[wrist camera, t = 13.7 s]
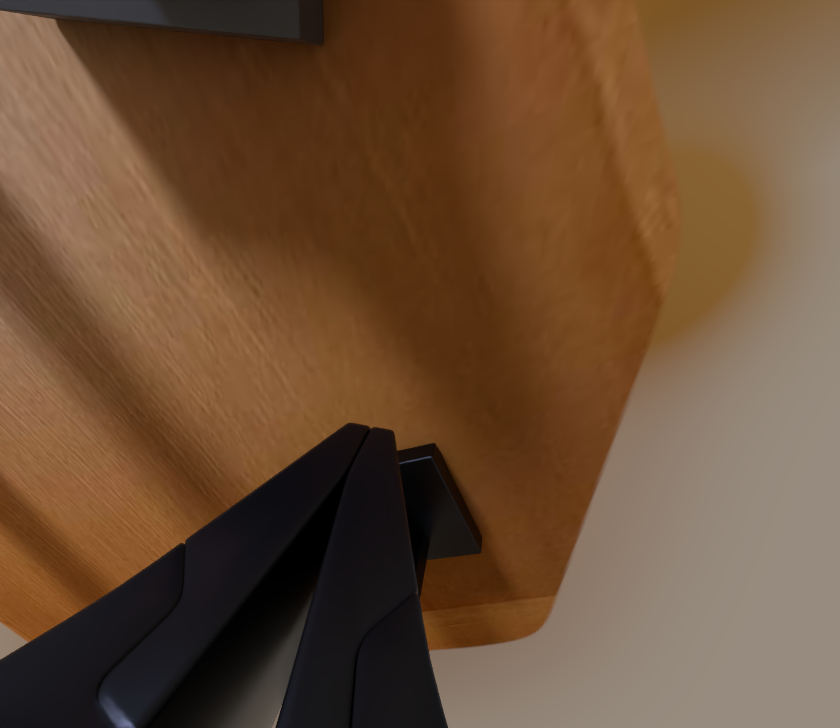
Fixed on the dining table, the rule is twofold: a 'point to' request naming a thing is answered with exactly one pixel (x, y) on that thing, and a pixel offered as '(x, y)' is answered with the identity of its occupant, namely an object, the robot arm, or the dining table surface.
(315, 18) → the button box
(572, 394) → the dining table surface
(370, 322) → the dining table surface
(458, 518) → the switch bracket
